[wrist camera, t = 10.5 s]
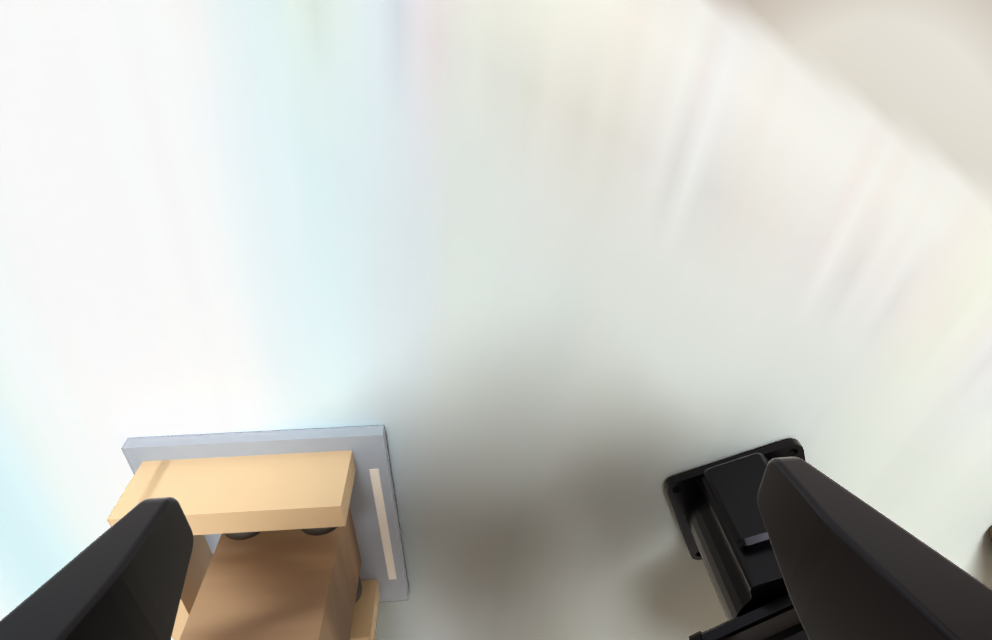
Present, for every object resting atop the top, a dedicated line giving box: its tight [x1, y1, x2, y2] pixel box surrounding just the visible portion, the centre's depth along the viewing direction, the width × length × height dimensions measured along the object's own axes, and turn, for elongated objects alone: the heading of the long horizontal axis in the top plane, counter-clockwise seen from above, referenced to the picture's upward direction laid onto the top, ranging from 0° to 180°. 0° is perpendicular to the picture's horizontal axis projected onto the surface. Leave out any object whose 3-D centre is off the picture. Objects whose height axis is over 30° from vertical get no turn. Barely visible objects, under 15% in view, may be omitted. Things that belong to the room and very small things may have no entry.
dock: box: [107, 425, 409, 640], centre depth 27 cm, size 11×12×4 cm
